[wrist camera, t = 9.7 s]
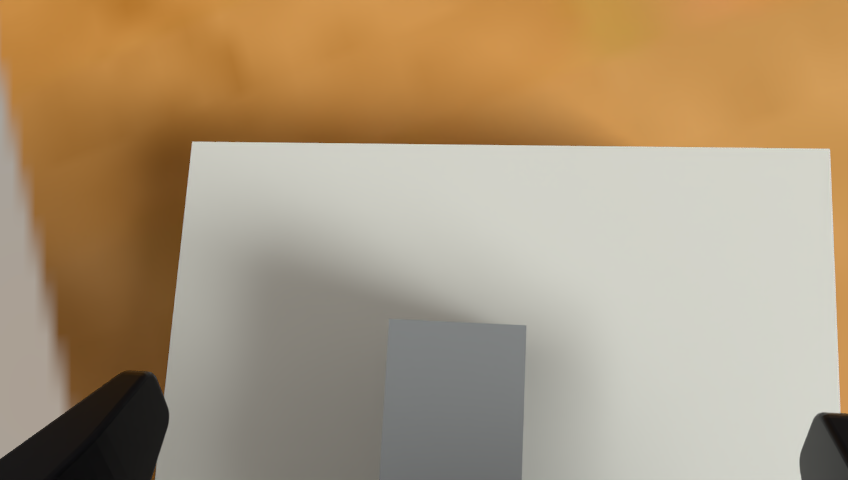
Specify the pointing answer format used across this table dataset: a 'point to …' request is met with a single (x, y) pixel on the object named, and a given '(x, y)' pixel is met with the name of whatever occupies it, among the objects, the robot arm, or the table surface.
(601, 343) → the cover
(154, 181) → the table surface
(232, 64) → the table surface
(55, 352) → the table surface
